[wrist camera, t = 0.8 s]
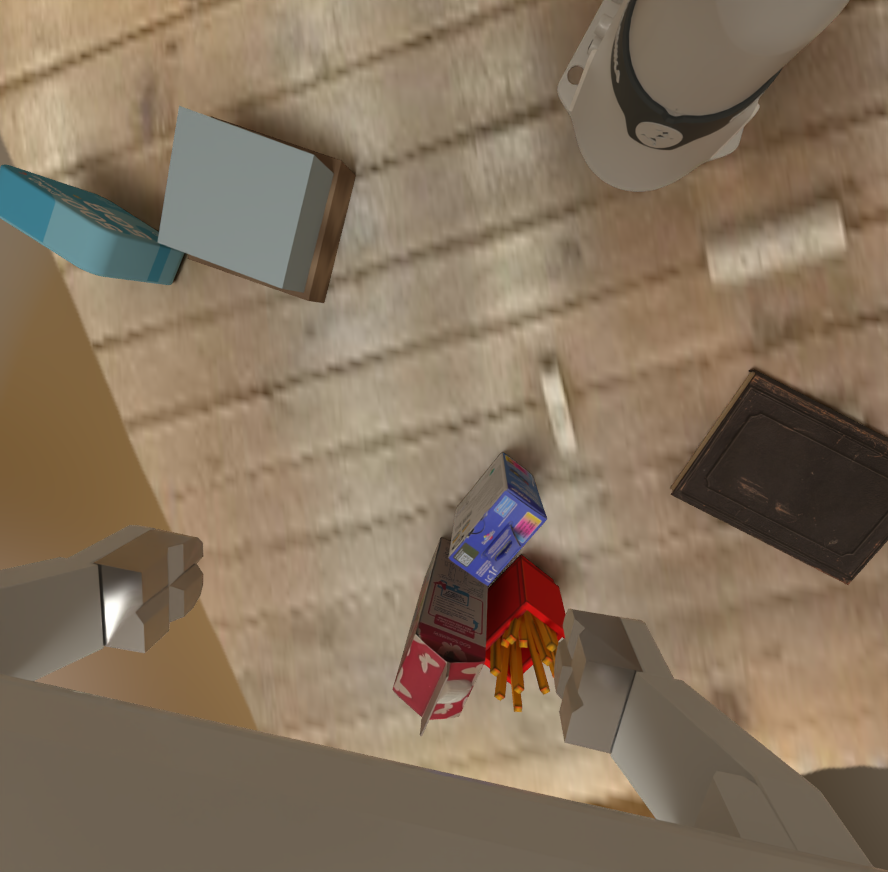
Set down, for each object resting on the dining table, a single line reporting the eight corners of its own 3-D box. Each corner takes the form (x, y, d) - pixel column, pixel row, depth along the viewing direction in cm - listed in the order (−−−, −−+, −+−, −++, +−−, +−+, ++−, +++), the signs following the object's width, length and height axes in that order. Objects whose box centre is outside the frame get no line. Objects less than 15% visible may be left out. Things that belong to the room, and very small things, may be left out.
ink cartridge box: (489, 535, 56) (486, 603, 42) (454, 510, 56) (440, 570, 42) (538, 477, 54) (553, 530, 40) (502, 450, 54) (504, 494, 40)
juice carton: (488, 556, 57) (484, 691, 36) (470, 597, 59) (455, 750, 38) (440, 537, 57) (408, 661, 36) (423, 579, 59) (383, 721, 38)
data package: (192, 252, 52) (105, 231, 41) (177, 287, 53) (89, 275, 42) (103, 196, 52) (-10, 158, 40) (91, 232, 53) (-22, 205, 41)
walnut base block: (238, 137, 49) (210, 116, 44) (357, 177, 48) (341, 160, 44) (216, 265, 53) (187, 258, 48) (325, 303, 52) (308, 300, 47)
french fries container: (561, 584, 57) (581, 665, 43) (515, 630, 59) (520, 719, 46) (518, 552, 56) (526, 622, 43) (474, 599, 59) (467, 680, 45)
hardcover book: (833, 574, 53) (848, 585, 51) (664, 488, 53) (671, 495, 51) (931, 462, 49) (951, 469, 47) (747, 368, 49) (759, 370, 46)
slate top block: (213, 130, 44) (179, 105, 40) (333, 173, 44) (314, 154, 39) (191, 251, 48) (157, 242, 43) (303, 292, 47) (281, 288, 42)
